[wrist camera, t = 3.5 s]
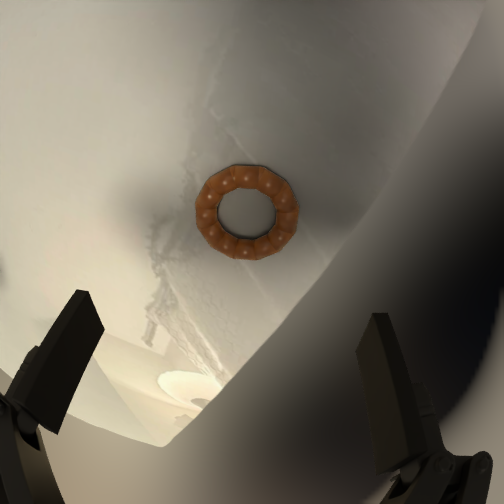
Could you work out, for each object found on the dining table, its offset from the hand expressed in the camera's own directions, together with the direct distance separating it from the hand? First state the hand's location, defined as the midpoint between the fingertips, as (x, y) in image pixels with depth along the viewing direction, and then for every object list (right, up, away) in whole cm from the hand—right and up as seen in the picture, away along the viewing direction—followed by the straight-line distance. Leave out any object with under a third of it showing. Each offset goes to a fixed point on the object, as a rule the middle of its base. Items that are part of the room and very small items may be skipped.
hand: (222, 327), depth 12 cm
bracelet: (+1, +6, +9) cm, 11 cm away
